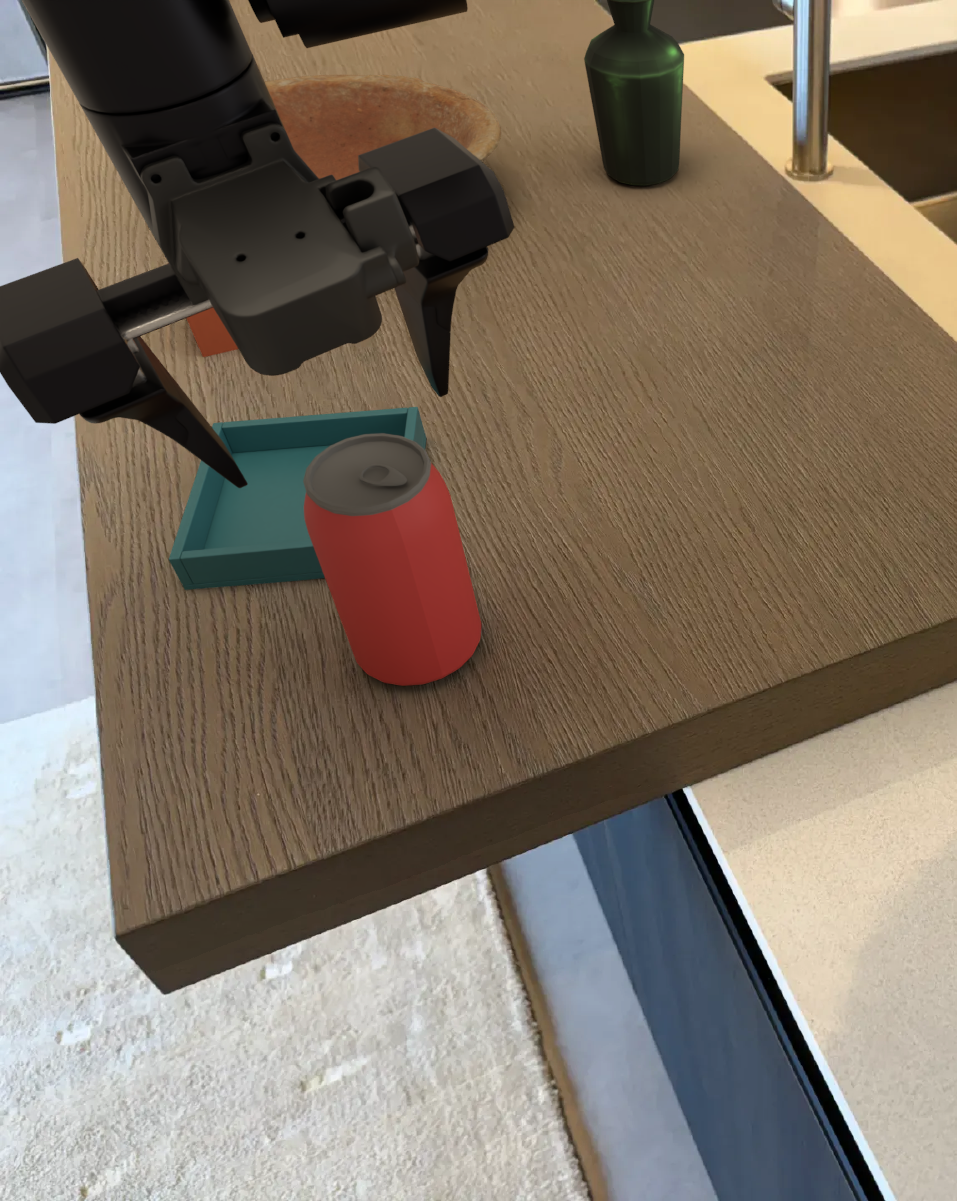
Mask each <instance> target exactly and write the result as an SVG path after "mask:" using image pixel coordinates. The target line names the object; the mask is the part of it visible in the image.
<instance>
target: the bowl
mask: <svg viewBox="0 0 957 1201" xmlns="http://www.w3.org/2000/svg"><path fill="white" fill-rule="evenodd" d="M264 82H265V84H266V86H267V89H268V91H269V93H270V96H271V98H272V100H273V103H274V105H275V107H276V110H277V112H278V114H279V116H280V119H281V121H282V123H283V126H284V128H285V130H286V133H287V135H288V137H289V140H290V142H291V144H292V146H293V149H294V150H295V152H296V153H297V154H298V155H299V156H300V157H301V159H302V160H303V161H304V162H305V163H306V164H307V165H308V167H309V168H310V169H311V170H312V171H313V172H314V174H315V175H316V176H317V177H318V178H319V179H320V178H323V177H326V176H328V175H331V174H332V175H333V176H334V178H335V179H336V180H339V179H341V178H344V177H347V176H349V175H352V174H355V173H357V172H360V171H359V166H358V155H361V154H363V153H366V152H369V151H372V150H374V149H377V148H380V147H383V146H385V145H388V144H391V143H394V142H396V141H399V140H402V139H405V138H407V137H410V136H413V135H415V134H418V133H421V132H424V131H426V130H429V129H432V128H437V129H438V130H440V131H442V132H444V133H446V134H447V135H449V136H451V137H453V138H454V139H456V140H457V141H458V142H459V143H460V144H461V145H463V146H464V147H465V148H466V149H467V150H469V151H470V152H471V153H472V154H473V155H475V156H476V157H477V158H478V159H479V160H481V161H482V162H483V161H484V160H486V159H487V158H488V157H489V156H490V155H491V154H492V153H493V152H494V150H495V149H496V148H497V147H498V145H499V144H500V141H501V139H502V127H501V125H500V122H499V120H498V118H497V116H496V114H495V112H494V111H493V110H491V109H489V108H488V107H487V106H486V105H485V104H484V103H482V102H481V101H479V99H476V98H475V97H473V96H471V95H468V94H466V93H463V92H461V91H458V90H455V89H452V88H450V87H447V86H443V85H439V84H434V83H431V82H426V81H424V80H422V79H420V78H418V77H412V76H405V75H393V74H379V75H378V74H315V75H314V74H313V75H304V76H303V75H302V76H293V77H287V78H285V77H284V78H279V79H273V80H264Z"/></svg>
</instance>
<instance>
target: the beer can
mask: <svg viewBox="0 0 957 1201" xmlns="http://www.w3.org/2000/svg"><path fill="white" fill-rule="evenodd" d="M303 482H304V486H305V489H306V495H305V502H304V519H305V523H306V526H307V530H308V533H309V536H310V539H311V541H312V544H313V547H314V549H315V552H316V555H317V557H318V560H319V563H320V565H321V568H322V571H323V574H324V576H325V578H324V579H325V582H326V584H327V588H328V589H329V592H330V595H331V598H332V601H333V603H334V606H335V609H336V611H337V614H338V616H339V620H340V622H341V625H342V628H343V630H344V633H345V635H346V637H347V638H346V639H347V641H348V644H349V646H350V649H351V651H352V654H353V657H354V659H355V662H356V664H357V665H358V666H359V667H360V668H361V669H362V671H364V672H365V673H366V674H367V675H368V676H370V677H371V678H374V679H375V680H378V681H380V682H382V683H384V684H389V685H396V686H403V687H409V686H419V685H420V686H421V685H422V686H423V685H426V684H429V683H430V684H431V683H433V682H435V681H439V680H443V679H444V678H446V677H447V676H449V675H451V674H453V673H454V672H456V671H458V670H459V669H461V667H463V666H464V665H465V664H466V662H468V661H469V659H470V658H472V657H473V655H474V653H475V651H476V649H477V647H478V645H479V643H480V641H481V638H482V625H483V624H482V621H481V620H482V619H481V617H480V612H479V609H478V604H477V600H476V596H475V591H474V586H473V583H472V579H471V574H470V570H469V567H468V562H467V557H466V554H465V551H464V545H463V542H462V537H461V534H460V529H459V525H458V520H457V517H456V513H455V512H456V511H455V509H454V504H453V499H452V496H451V493H450V491H449V488H448V486H447V484H446V482H445V480H444V478H443V476H442V474H441V473H440V471H439V470H438V468H436V466H435V465H434V464H433V463H432V461H431V459H430V457H429V454H428V452H427V450H426V448H425V449H423V448H422V447H421V446H420V445H419V444H418V443H417V442H415V441H412V440H410V439H407V438H405V437H403V436H398V435H392V434H385V433H379V434H364V435H359V436H355V437H351V438H347V439H344V440H342V441H340V442H338V443H335V444H333V445H331V446H329V447H328V448H326V449H325V450H324V451H322V452H321V453H320V454H318V455H317V456H316V457H315V458H314V459H313V461H312V462H311V463H310V465H309V466H308V467H307V469H306V472H305V476H304V480H303Z"/></svg>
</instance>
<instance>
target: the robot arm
mask: <svg viewBox="0 0 957 1201" xmlns="http://www.w3.org/2000/svg"><path fill="white" fill-rule="evenodd" d="M247 1H248V3H249V6H250V7H251V10H252V12H253V14H254V15H255V17H256V19H257V21H258V22H259V23H261V24H263V23H267V22H272V21H275V23H276V26H277V28H278V30H279V32H280V34H281V37H282V38H283V39H284V38H288V37H293V36H296V35H297V36H299V37H300V40H301V42H302V44H303V45H304V48H306V49H310V48H311V49H312V48H315V47H319V46H324V45H329V44H331V43H332V44H333V43H337V42H341V41H346V40H350V39H354V38H358V37H363V36H368V35H371V34H375V33H380V32H384V31H389V30H393V29H397V28H401V27H406V26H410V25H411V26H412V25H415V24H420V23H424V22H428V21H432V20H437V19H442V18H445V17H450V16H454V15H458V14H462V13H467V12H468V1H467V0H247ZM21 2H22V4H23V6H24V7H25V9H26V11H27V12H28V15H29V16H30V18H31V20H32V22H33V23H34V25H35V27H36V29H37V30H38V32H39V34H40V36H41V38H42V39H43V41H44V43H45V45H46V47H47V48H48V50H49V52H50V54H51V56H52V57H53V60H54V61H55V63H56V64H57V67H58V68H59V70H60V71H61V73H62V75H63V77H64V79H65V81H66V82H67V84H68V86H69V88H70V89H71V91H72V93H73V95H74V97H75V99H76V101H77V102H78V104H79V106H80V108H81V109H82V111H83V113H84V115H85V117H86V118H87V120H88V122H89V123H90V125H91V127H92V129H93V131H94V132H95V134H96V136H97V138H98V140H99V141H100V144H101V145H102V147H103V148H104V151H105V152H106V154H107V156H108V157H109V159H110V161H111V163H112V165H113V167H114V169H115V171H116V172H117V175H119V178H120V179H121V181H122V183H123V184H124V186H125V188H126V190H127V192H128V193H129V195H130V197H131V199H132V201H133V202H134V204H135V206H136V207H137V210H138V211H139V213H140V215H141V216H142V218H143V221H145V223H146V225H147V228H149V231H150V233H151V235H152V236H153V238H154V240H155V241H156V243H157V245H158V247H159V249H160V250H161V252H162V254H163V256H164V257H165V260H166V261H167V263H168V264H167V263H166V264H162V265H161V266H158V267H156V268H153V269H150V270H147V271H144V272H142V273H138V274H137V275H134V276H131V277H128V278H126V279H123V280H121V281H118V282H115V283H113V284H110V285H108V286H105V287H102V288H100V289H99V288H98V285H97V284H96V283H95V281H94V280H93V278H92V276H91V275H90V273H89V272H88V270H87V269H86V267H85V266H84V264H83V263H82V262H81V260H80V258H79V257H77V258H73V259H71V260H68V261H66V262H63V263H60V264H57V265H54V266H51V267H49V268H46V269H43V270H41V271H38V272H35V273H33V274H30V275H27V276H25V277H21V278H19V279H16V280H13V281H10V282H8V283H5V284H2V285H0V375H1V377H2V378H3V380H4V382H5V383H6V385H7V386H8V387H9V390H10V391H11V392H12V393H13V395H14V396H15V397H16V398H17V400H18V401H19V403H20V404H21V406H23V408H24V410H25V411H26V412H27V414H28V415H29V416H30V417H31V419H32V420H33V422H34V423H36V424H51V425H53V424H54V425H56V424H58V423H60V422H63V421H65V420H69V419H71V418H73V417H75V416H77V415H79V416H80V417H81V418H82V419H83V420H84V421H85V422H87V423H90V424H95V425H96V424H103V423H105V422H108V421H110V420H113V419H118V418H122V419H127V420H133V421H137V422H140V423H143V424H144V425H146V426H148V427H150V428H152V429H153V430H155V431H158V432H159V433H161V434H163V435H165V436H166V437H168V438H169V439H171V440H172V441H174V442H175V443H177V444H178V445H180V446H181V447H182V448H184V449H185V450H187V451H188V452H189V453H191V455H193V456H194V457H196V458H197V459H198V460H199V461H200V462H201V461H203V462H204V463H205V464H207V465H208V466H209V467H211V468H212V469H213V470H215V471H216V472H217V473H219V474H220V475H221V476H223V477H224V478H226V479H227V480H228V481H230V482H231V483H232V484H234V485H235V486H236V487H238V488H242V487H244V486H246V485H248V483H247V481H246V479H245V478H244V476H243V474H242V473H241V471H240V469H239V468H238V466H237V464H236V462H235V461H234V459H233V457H232V456H231V454H230V452H229V451H228V449H227V447H226V446H225V444H224V443H223V441H222V440H221V438H220V437H219V436H218V434H217V433H216V432H215V431H214V429H213V428H212V425H210V423H209V421H208V420H207V419H206V417H205V416H204V415H203V414H202V413H201V412H200V410H199V409H198V408H197V406H196V405H195V404H194V402H192V400H191V399H190V398H189V396H188V395H187V394H186V392H185V391H184V390H183V389H182V388H181V386H180V385H179V384H178V382H177V380H175V378H174V377H173V376H172V375H171V373H170V372H169V371H168V369H167V368H166V367H165V365H164V364H163V363H162V362H161V361H160V359H159V358H158V356H157V355H156V354H155V353H154V351H153V350H152V349H151V348H150V347H149V345H148V343H146V341H145V340H144V339H143V338H142V337H143V336H145V335H147V334H149V333H152V332H155V331H157V330H159V329H163V328H165V327H167V326H170V325H172V324H175V323H177V322H180V321H182V320H185V319H186V318H188V317H190V316H193V315H195V314H198V313H200V312H203V311H205V310H208V309H210V308H214V310H215V311H216V313H217V315H218V316H219V318H220V320H221V321H222V323H223V324H224V326H225V328H226V329H227V331H228V333H229V334H230V336H231V338H232V339H233V341H234V342H235V344H236V346H237V347H238V349H237V350H238V351H239V353H240V354H241V356H242V358H243V359H244V361H245V363H246V364H247V365H248V367H249V368H250V369H251V370H253V371H254V372H255V373H258V374H260V375H263V376H270V377H271V376H272V377H273V376H274V377H277V376H281V375H285V374H288V373H291V372H293V371H296V370H297V369H299V368H301V366H302V364H304V363H305V362H307V361H309V360H311V359H314V358H316V357H318V356H321V355H323V354H326V353H328V352H330V351H333V350H335V349H337V348H339V347H342V346H344V345H347V344H351V345H356V344H359V343H361V342H363V341H366V340H368V339H369V338H371V337H374V335H375V334H376V333H377V332H378V331H379V329H380V328H381V326H382V324H383V323H382V322H383V315H382V311H381V309H380V305H379V301H378V299H377V296H378V295H381V294H383V293H386V292H388V291H391V290H393V289H394V293H395V295H396V298H397V301H398V305H399V308H400V310H401V313H402V317H403V319H404V323H405V325H406V328H407V331H408V334H409V337H410V340H411V343H412V347H413V349H414V352H415V355H416V357H417V359H418V362H419V364H420V366H421V369H422V371H423V373H424V375H425V377H426V379H427V381H428V383H429V386H430V387H431V389H432V390H433V391H434V392H435V394H436V395H437V396H438V397H439V398H443V397H445V396H447V395H448V394H449V384H450V383H449V382H450V359H451V358H450V357H451V336H452V334H451V331H452V317H453V313H454V312H453V310H454V305H455V300H456V294H457V290H458V287H459V285H460V284H461V283H462V281H464V279H465V278H466V277H467V275H468V274H469V273H470V272H471V271H472V270H474V269H475V268H478V267H480V266H482V265H484V264H485V263H487V260H488V258H489V246H492V245H493V244H497V243H499V242H501V241H504V240H507V239H508V238H509V237H510V236H511V234H512V232H513V230H514V229H515V224H514V219H513V217H512V213H511V210H510V207H509V203H508V200H507V197H506V194H505V190H504V188H503V186H502V184H501V182H500V181H499V179H498V177H497V175H496V173H495V172H494V170H492V168H490V167H489V166H488V165H486V164H485V163H484V162H483V161H481V160H479V159H478V158H477V157H476V156H475V155H473V154H472V153H471V152H470V151H469V150H467V149H466V148H465V147H464V146H463V145H461V144H460V143H459V142H458V141H457V140H456V139H454V138H453V137H451V136H449V135H447V134H446V133H444V132H442V131H440V130H438V129H437V128H432V129H429V130H426V131H424V132H421V133H418V134H415V135H413V136H410V137H407V138H405V139H402V140H399V141H396V142H394V143H391V144H388V145H385V146H383V147H380V148H377V149H374V150H372V151H369V152H366V153H363V154H361V155H358V166H359V171H360V172H357V173H355V174H352V175H349V176H347V177H344V178H341V179H339V180H336V179H335V178H334V176H333V175H332V174H331V175H328V176H326V177H323V178H320V179H319V178H318V177H317V176H316V175H315V174H314V172H313V171H312V170H311V169H310V168H309V167H308V165H307V164H306V163H305V162H304V161H303V160H302V159H301V157H300V156H299V155H298V154H297V153H296V152H295V150H294V149H293V146H292V144H291V142H290V140H289V137H288V135H287V133H286V130H285V128H284V126H283V123H282V121H281V119H280V116H279V114H278V112H277V110H276V107H275V105H274V103H273V100H272V98H271V96H270V93H269V91H268V89H267V86H266V84H265V80H264V77H263V75H262V73H261V70H260V68H259V66H258V63H257V61H256V59H255V55H254V54H253V52H252V50H251V48H250V45H249V43H248V41H247V38H246V37H245V34H244V31H243V30H242V27H241V25H240V23H239V20H238V17H237V15H236V13H235V10H234V8H233V6H232V4H231V2H230V0H21Z"/></svg>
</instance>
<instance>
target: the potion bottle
mask: <svg viewBox="0 0 957 1201" xmlns="http://www.w3.org/2000/svg"><path fill="white" fill-rule="evenodd" d="M606 3H607V5H608V8H609V12H610V15H611V19H612V21H613V25H612V26H610V27H608V28H607V29H605V30H603V31H602V32H600V33H599V34H597V35H595V36H594V37H593V38H591V40H590V41H589V43H588V46H587V49H586V50H585V53H584V54H585V55H584V57H583V60H584V66H585V67H584V68H585V71H586V78H587V83H588V87H589V96H590V98H591V99H590V100H591V105H592V110H593V117H594V123H595V127H596V133H597V138H598V144H599V149H600V156H601V160H602V166H603V169H604V170H605V172H606V174H607V175H608V176H609V177H610V178H612V179H613V180H615V181H617V182H619V183H622V184H626V185H631V186H651V185H658V184H661V183H663V182H666V181H668V180H670V179H671V178H672V177H674V175H675V174H677V173H678V172H679V167H680V157H681V156H680V154H681V136H682V135H681V132H682V112H683V93H684V92H683V90H684V73H685V72H684V71H685V70H684V68H685V53H684V51H683V49H682V48H681V46H680V44H679V42H678V41H677V40H676V39H675V38H674V37H673V35H670V33H667V32H665V31H663V30H662V29H660V28H658V27H656V26H654V25H652V24H651V21H652V16H653V12H654V5H655V4H654V3H655V0H606Z"/></svg>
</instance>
